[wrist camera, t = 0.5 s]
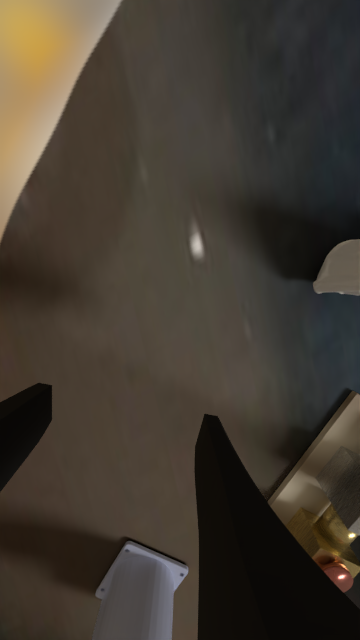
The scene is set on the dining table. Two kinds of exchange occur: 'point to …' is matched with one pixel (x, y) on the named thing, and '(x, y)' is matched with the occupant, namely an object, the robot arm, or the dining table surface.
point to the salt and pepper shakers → (340, 270)
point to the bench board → (318, 463)
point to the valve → (327, 544)
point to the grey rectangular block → (343, 486)
